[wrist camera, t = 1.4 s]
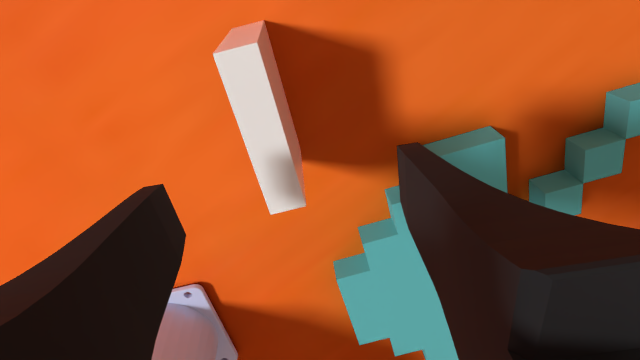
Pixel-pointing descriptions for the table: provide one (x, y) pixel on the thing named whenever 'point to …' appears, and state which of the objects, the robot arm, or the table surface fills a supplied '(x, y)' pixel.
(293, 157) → the tile
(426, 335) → the alien figure
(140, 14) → the table surface
